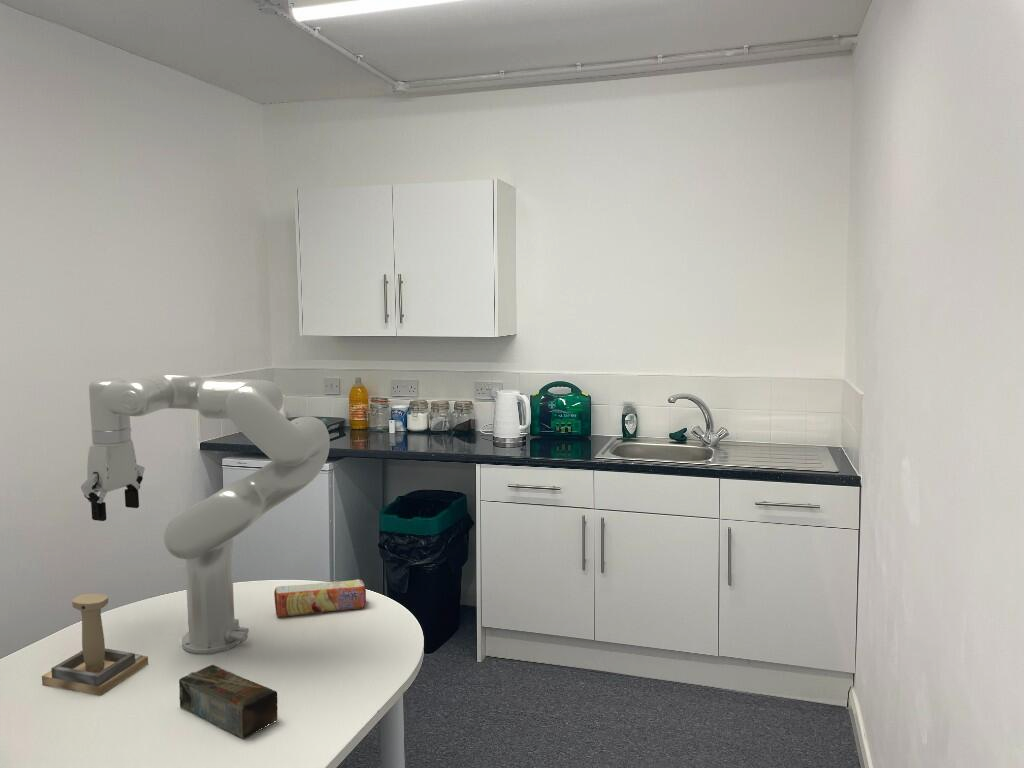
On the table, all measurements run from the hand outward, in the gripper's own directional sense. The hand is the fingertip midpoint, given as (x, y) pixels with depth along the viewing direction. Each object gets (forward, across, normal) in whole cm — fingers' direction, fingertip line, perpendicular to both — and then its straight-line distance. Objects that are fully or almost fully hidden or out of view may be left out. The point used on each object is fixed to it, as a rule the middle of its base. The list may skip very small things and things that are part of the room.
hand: (116, 513), depth 179 cm
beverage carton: (+29, +20, +41) cm, 54 cm away
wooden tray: (+28, +16, +7) cm, 33 cm away
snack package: (+29, -26, +34) cm, 52 cm away
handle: (+27, +17, +8) cm, 33 cm away
